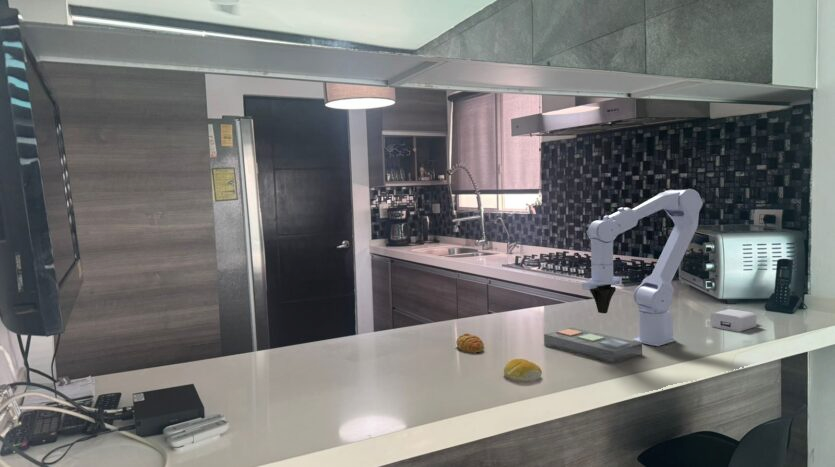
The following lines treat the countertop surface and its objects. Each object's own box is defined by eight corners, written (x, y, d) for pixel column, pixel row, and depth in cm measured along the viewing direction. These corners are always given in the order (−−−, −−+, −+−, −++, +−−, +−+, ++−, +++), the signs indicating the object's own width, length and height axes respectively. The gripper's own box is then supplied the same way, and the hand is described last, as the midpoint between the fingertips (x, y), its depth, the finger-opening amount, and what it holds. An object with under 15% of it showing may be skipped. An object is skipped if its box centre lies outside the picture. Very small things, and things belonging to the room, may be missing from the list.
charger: (766, 325, 172) (741, 333, 164) (736, 320, 180) (710, 327, 172) (766, 310, 172) (741, 317, 164) (736, 305, 180) (710, 312, 171)
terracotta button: (568, 339, 161) (568, 328, 161) (582, 342, 157) (582, 332, 157) (556, 342, 158) (556, 331, 158) (570, 345, 154) (570, 335, 154)
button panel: (572, 337, 164) (572, 327, 164) (642, 354, 145) (642, 343, 145) (544, 344, 157) (544, 334, 157) (613, 363, 138) (613, 351, 138)
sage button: (589, 344, 155) (589, 333, 154) (604, 348, 151) (604, 337, 150) (577, 347, 152) (577, 336, 152) (592, 351, 148) (592, 340, 148)
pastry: (490, 352, 152) (490, 338, 152) (468, 356, 150) (468, 342, 150) (474, 344, 161) (474, 331, 161) (453, 347, 158) (453, 334, 158)
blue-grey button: (612, 350, 148) (612, 339, 148) (628, 354, 144) (628, 342, 144) (600, 353, 146) (600, 342, 145) (616, 357, 142) (616, 346, 141)
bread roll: (526, 369, 137) (525, 353, 137) (547, 380, 128) (547, 363, 128) (496, 373, 134) (496, 357, 134) (516, 385, 125) (516, 368, 125)
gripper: (606, 260, 160) (607, 306, 161) (572, 265, 152) (573, 314, 153) (628, 262, 154) (628, 310, 155) (594, 267, 146) (594, 318, 147)
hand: (602, 312), depth 153 cm, fingers closed
